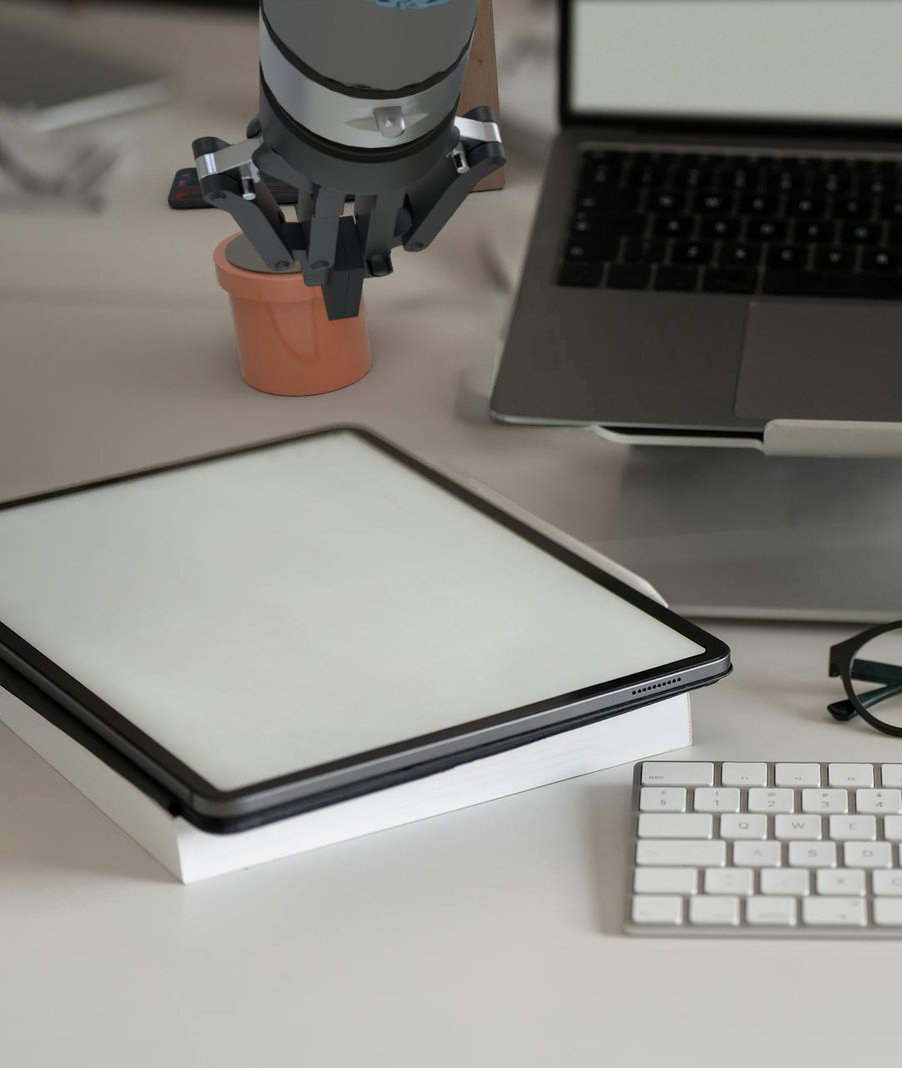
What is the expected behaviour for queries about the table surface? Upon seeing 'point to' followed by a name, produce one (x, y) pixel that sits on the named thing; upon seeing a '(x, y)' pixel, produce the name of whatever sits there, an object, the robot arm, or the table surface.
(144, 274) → the table surface
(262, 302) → the flower pot
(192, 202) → the smartphone
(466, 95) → the wooden block
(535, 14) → the table surface
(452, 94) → the robot arm
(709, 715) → the table surface
